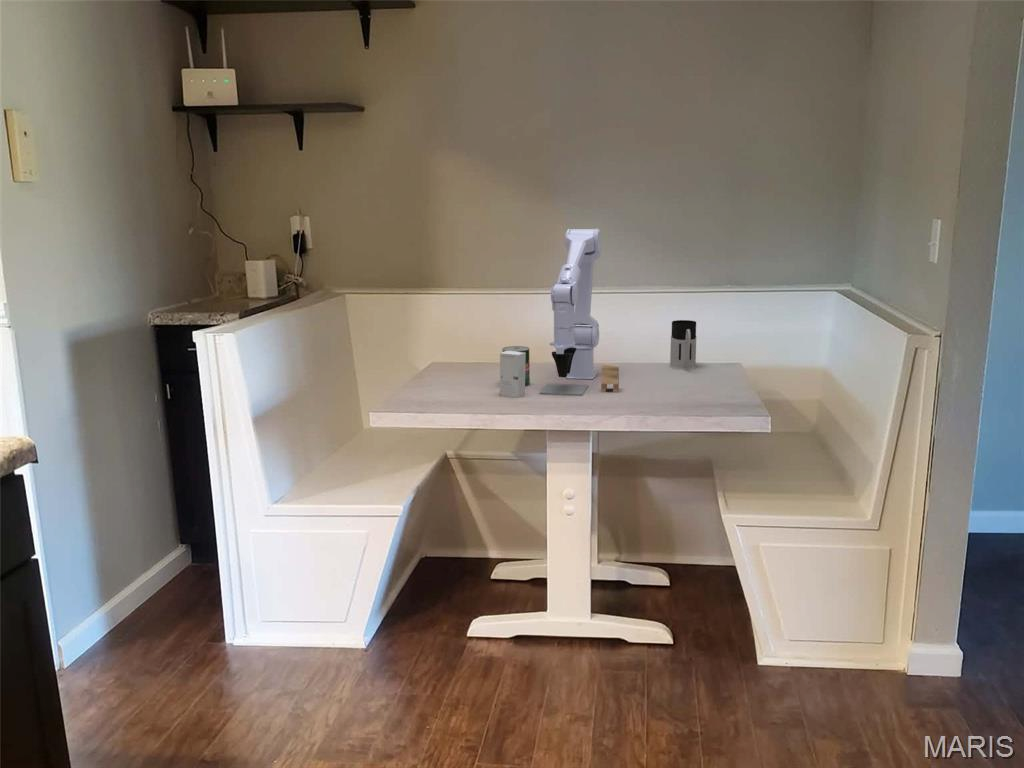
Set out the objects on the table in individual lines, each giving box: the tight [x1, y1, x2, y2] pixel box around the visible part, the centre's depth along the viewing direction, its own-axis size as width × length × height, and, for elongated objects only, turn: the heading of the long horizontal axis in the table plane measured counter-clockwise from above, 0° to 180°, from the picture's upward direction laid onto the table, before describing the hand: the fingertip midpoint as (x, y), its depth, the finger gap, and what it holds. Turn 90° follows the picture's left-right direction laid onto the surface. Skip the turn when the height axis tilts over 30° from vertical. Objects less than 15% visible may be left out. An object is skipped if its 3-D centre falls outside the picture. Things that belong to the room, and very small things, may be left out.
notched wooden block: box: [600, 364, 620, 393], centre depth 238 cm, size 4×4×7 cm
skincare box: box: [499, 351, 526, 399], centre depth 234 cm, size 6×4×12 cm
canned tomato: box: [501, 345, 531, 388], centre depth 247 cm, size 8×8×11 cm
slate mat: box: [538, 383, 589, 397], centre depth 240 cm, size 12×12×1 cm
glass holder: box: [669, 319, 697, 371], centre depth 265 cm, size 9×14×15 cm, turn 179°
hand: (564, 375), depth 239 cm, fingers open, 5 cm apart
